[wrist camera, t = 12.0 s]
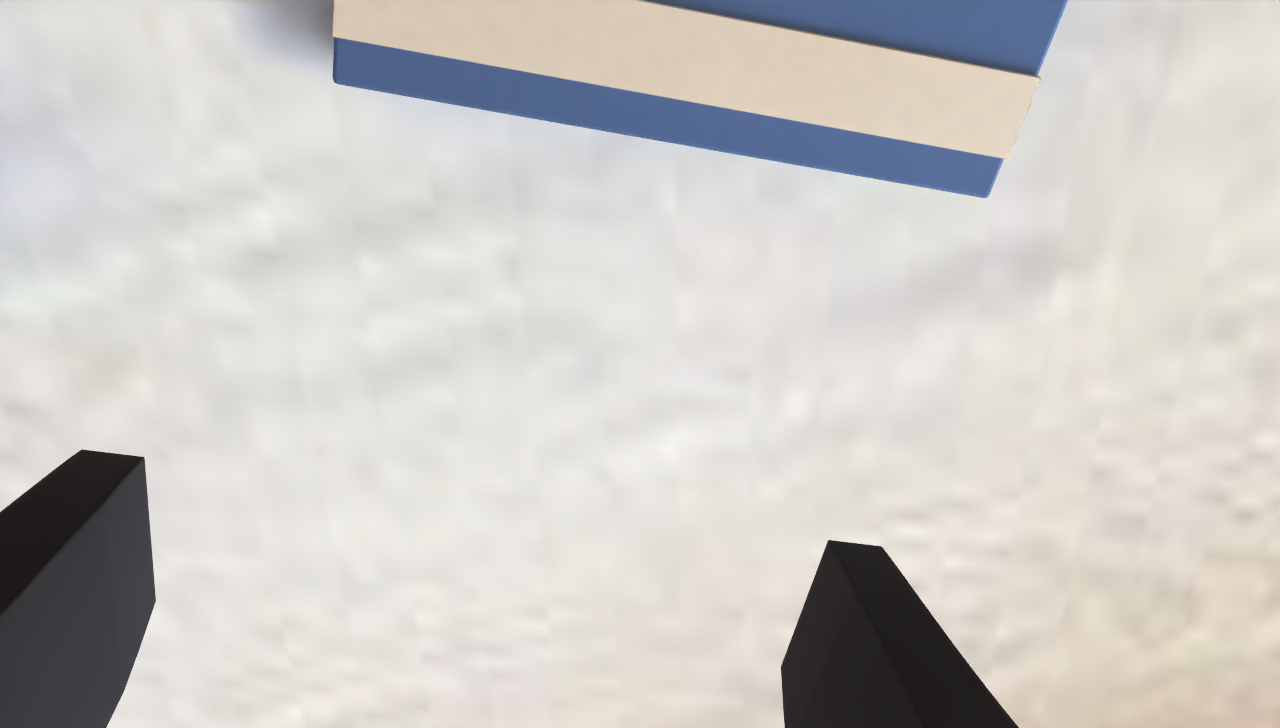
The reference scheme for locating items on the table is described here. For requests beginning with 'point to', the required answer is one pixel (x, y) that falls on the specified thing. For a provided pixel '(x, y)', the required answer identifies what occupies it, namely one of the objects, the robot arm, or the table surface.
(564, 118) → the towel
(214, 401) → the table surface
